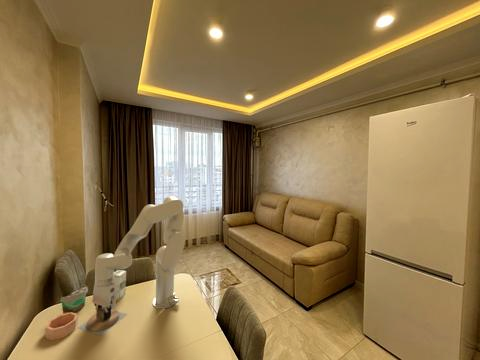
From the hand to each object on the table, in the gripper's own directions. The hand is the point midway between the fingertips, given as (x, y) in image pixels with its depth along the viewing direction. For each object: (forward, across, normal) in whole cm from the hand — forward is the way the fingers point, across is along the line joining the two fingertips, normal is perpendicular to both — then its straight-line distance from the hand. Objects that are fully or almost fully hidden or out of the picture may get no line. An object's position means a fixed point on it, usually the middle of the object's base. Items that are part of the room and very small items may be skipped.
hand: (103, 317), depth 94 cm
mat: (+2, 0, 0) cm, 2 cm away
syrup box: (+2, +10, -17) cm, 20 cm away
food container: (+2, +20, -2) cm, 20 cm away
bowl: (+2, +12, +10) cm, 16 cm away
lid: (+2, 0, 0) cm, 2 cm away
